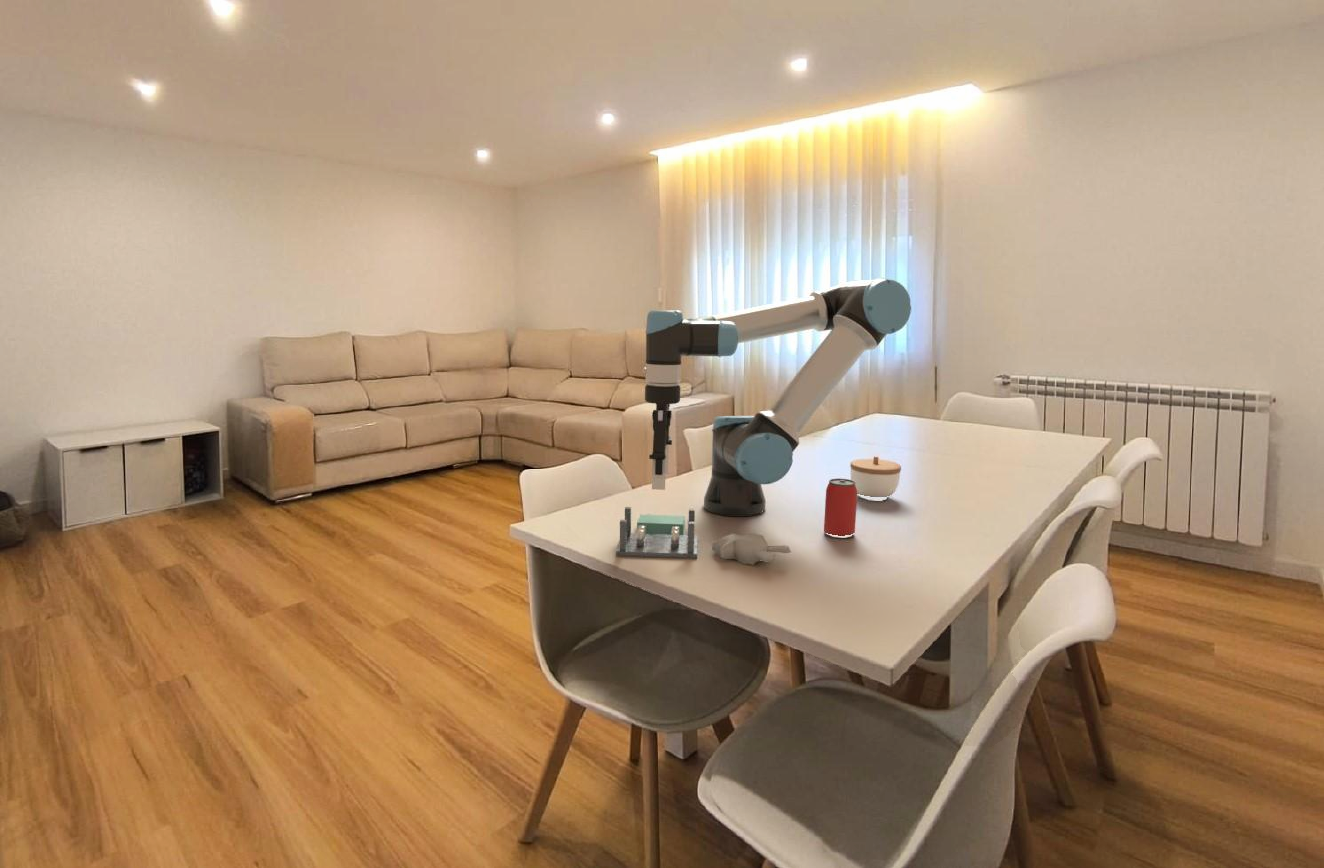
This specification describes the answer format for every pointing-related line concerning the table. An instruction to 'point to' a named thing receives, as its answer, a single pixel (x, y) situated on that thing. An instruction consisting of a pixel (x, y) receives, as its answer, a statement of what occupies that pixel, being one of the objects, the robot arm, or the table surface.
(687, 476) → the table surface
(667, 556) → the chassis
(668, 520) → the green rectangular block
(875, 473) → the lidded bowl
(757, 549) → the bunny figurine
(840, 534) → the beer can
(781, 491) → the table surface
